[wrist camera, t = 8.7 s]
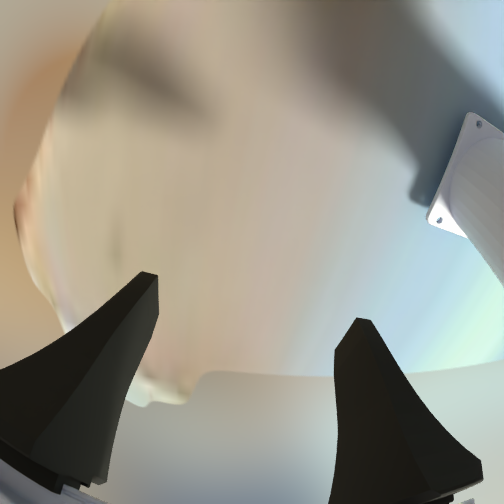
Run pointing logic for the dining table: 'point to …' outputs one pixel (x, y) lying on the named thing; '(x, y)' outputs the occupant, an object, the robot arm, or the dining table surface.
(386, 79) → the dining table surface
